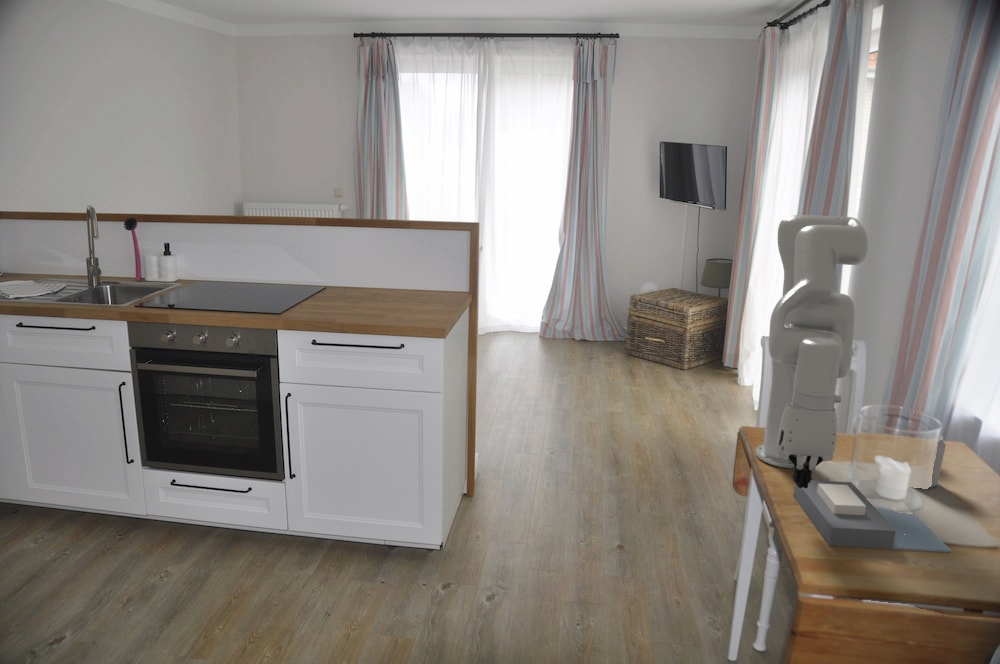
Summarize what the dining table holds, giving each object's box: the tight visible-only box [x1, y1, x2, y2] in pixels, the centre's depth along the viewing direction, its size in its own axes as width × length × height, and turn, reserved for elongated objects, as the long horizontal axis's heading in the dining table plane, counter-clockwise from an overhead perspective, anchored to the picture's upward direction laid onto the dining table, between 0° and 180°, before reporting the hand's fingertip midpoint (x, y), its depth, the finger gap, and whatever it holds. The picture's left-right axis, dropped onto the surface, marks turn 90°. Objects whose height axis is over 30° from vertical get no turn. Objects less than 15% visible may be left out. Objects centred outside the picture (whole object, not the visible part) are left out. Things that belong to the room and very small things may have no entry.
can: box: [931, 434, 946, 488], centre depth 160 cm, size 8×8×12 cm
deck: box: [793, 480, 896, 550], centre depth 143 cm, size 20×12×4 cm, turn 176°
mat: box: [875, 507, 952, 553], centre depth 143 cm, size 20×11×1 cm, turn 176°
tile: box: [817, 484, 866, 515], centre depth 143 cm, size 9×6×2 cm, turn 176°
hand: (800, 485), depth 142 cm, fingers closed
